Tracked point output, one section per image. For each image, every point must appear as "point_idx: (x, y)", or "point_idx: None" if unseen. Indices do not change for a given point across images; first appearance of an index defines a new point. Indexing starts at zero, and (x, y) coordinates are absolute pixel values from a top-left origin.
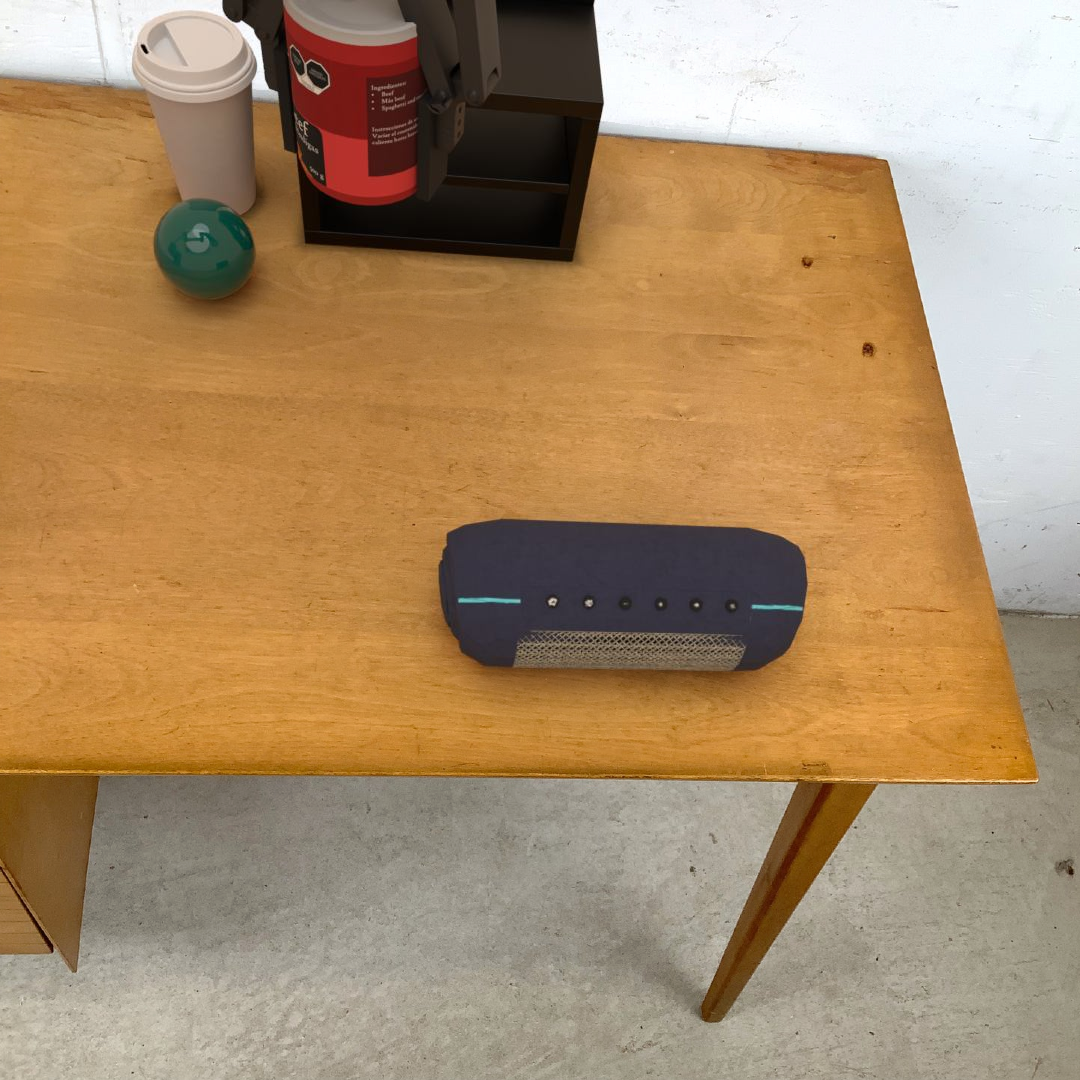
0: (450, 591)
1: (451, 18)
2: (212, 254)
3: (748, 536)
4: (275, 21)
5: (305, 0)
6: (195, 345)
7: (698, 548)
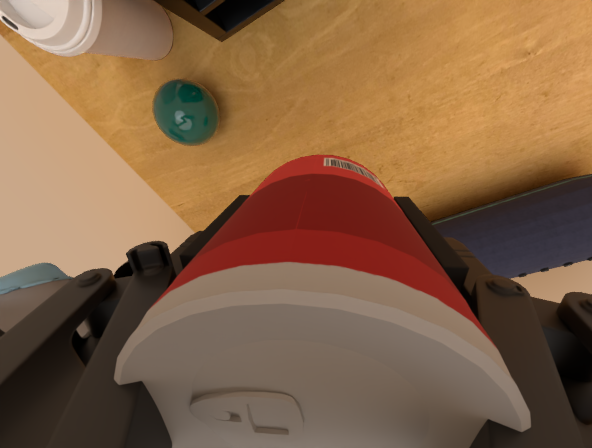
0: None
1: (565, 395)
2: (200, 133)
3: None
4: None
5: None
6: (224, 158)
7: (576, 239)
